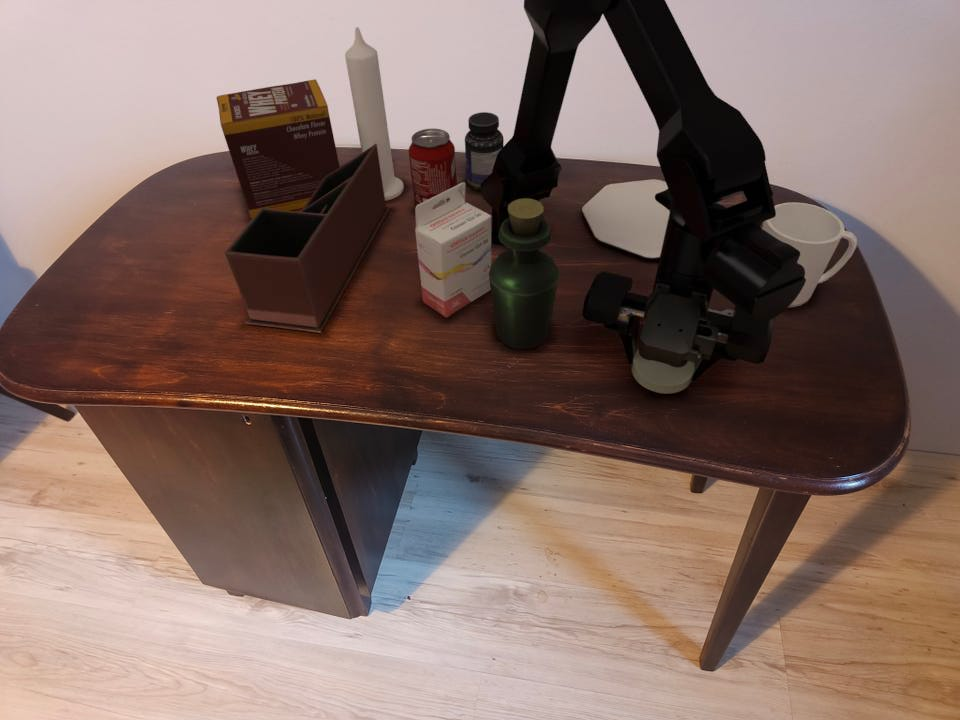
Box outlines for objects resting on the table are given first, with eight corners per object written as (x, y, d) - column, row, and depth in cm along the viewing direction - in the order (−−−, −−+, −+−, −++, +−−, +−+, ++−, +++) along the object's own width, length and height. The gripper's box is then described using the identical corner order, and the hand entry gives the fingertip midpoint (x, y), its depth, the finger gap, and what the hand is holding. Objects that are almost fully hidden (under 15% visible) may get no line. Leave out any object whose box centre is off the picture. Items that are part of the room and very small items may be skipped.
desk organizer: (245, 325, 82) (217, 254, 74) (328, 203, 102) (313, 137, 94) (322, 335, 81) (301, 263, 72) (391, 209, 100) (381, 142, 92)
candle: (401, 201, 102) (379, 36, 84) (357, 202, 102) (326, 37, 84) (405, 178, 107) (385, 17, 89) (364, 179, 107) (335, 19, 89)
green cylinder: (623, 388, 72) (626, 375, 71) (638, 349, 76) (641, 336, 75) (684, 405, 70) (688, 392, 69) (695, 364, 74) (699, 351, 73)
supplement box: (347, 199, 103) (328, 104, 92) (250, 219, 100) (218, 123, 88) (336, 169, 110) (316, 77, 99) (245, 187, 106) (214, 94, 95)
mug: (740, 302, 83) (763, 235, 75) (745, 262, 88) (767, 197, 81) (832, 320, 80) (865, 253, 72) (831, 278, 86) (861, 211, 78)
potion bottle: (507, 364, 76) (508, 238, 63) (479, 322, 81) (474, 199, 68) (567, 343, 78) (579, 217, 65) (536, 304, 83) (541, 181, 71)
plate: (622, 176, 105) (623, 168, 104) (739, 213, 97) (741, 204, 96) (560, 234, 94) (561, 225, 93) (686, 280, 86) (689, 271, 85)
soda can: (453, 223, 97) (447, 150, 89) (410, 219, 98) (401, 146, 90) (462, 199, 102) (458, 128, 93) (421, 196, 103) (414, 125, 94)
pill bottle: (472, 172, 108) (469, 108, 100) (507, 175, 107) (507, 111, 99) (462, 190, 104) (459, 126, 96) (499, 194, 103) (498, 129, 95)
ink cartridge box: (447, 320, 82) (438, 222, 71) (422, 302, 84) (410, 206, 74) (494, 289, 86) (492, 192, 75) (468, 273, 88) (463, 178, 78)
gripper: (572, 285, 59) (561, 396, 70) (784, 337, 54) (736, 448, 65) (604, 222, 66) (590, 332, 77) (795, 262, 61) (750, 373, 72)
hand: (661, 369), depth 73 cm, fingers closed on green cylinder, 7 cm apart
